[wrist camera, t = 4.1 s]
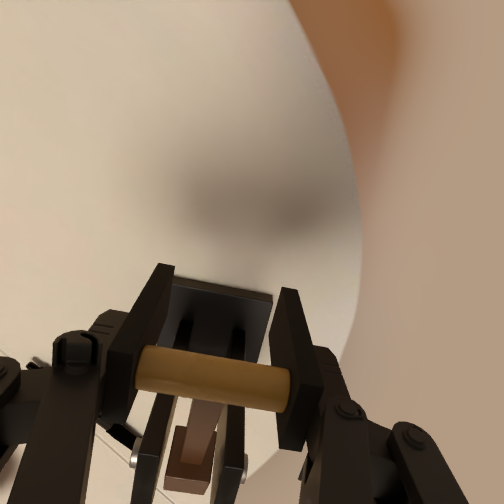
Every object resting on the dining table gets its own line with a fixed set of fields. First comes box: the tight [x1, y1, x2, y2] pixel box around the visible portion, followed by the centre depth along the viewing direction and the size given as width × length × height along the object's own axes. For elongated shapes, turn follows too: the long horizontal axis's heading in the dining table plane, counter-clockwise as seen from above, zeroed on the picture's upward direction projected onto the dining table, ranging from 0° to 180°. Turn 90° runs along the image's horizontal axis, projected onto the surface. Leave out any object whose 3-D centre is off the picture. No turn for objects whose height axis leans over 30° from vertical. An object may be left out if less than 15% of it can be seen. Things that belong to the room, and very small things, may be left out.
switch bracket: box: [129, 277, 273, 504], centre depth 24 cm, size 10×8×13 cm
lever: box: [134, 344, 291, 495], centre depth 16 cm, size 12×5×2 cm, turn 168°
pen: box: [26, 362, 137, 450], centre depth 32 cm, size 14×2×1 cm, turn 41°
